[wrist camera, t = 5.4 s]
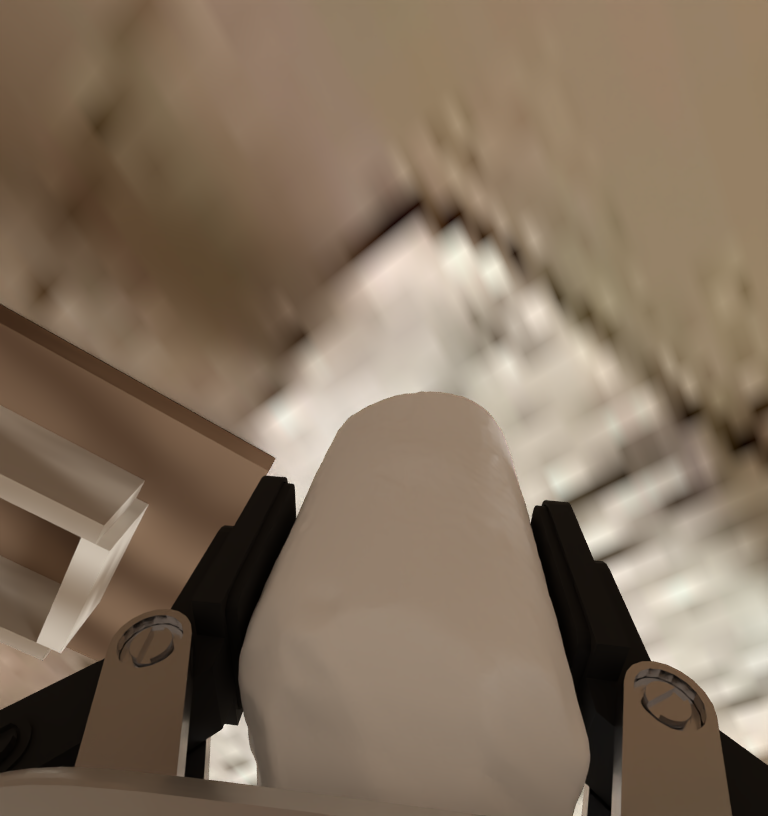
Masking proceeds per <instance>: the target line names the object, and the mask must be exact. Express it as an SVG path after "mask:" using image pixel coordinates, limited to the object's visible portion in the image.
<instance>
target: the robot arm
mask: <svg viewBox="0 0 768 816" xmlns="http://www.w3.org/2000/svg"><path fill="white" fill-rule="evenodd" d="M295 520H296V504H295V486H294V484H289V483H288V481H287V478H286V477H276V476H263V477H262V478H261V480H260V481H259V483H258V485H257V487H256V488H255V490H254V492H253V494H252V495H251V497H250V499H249V501H248V502H247V504H246V506H245V507H244V509H243V511H242V513H241V514H240V516H239V518H238V520H237V521H236V523H235V525H234V526H228V525H224V526H222V527H221V528H220V530H219V531H218V532H217V534H216V536H215V537H214V539H213V540H212V542H211V544H210V545H209V547H208V549H207V550H206V552H205V553H204V555H203V557H202V558H201V560H200V562H199V563H198V565H197V567H196V568H195V570H194V571H193V573H192V575H191V576H190V578H189V580H188V581H187V583H186V585H185V586H184V588H183V589H182V591H181V593H180V594H179V596H178V598H177V599H176V601H175V602H174V604H173V606H172V607H171V609H156V610H153V611H149V612H145V613H143V614H141V615H139V616H137V617H135V618H133V619H131V620H130V621H128V622H127V623H126V624H124V625H123V626H122V627H121V628H120V629H119V630H118V631H117V632H116V634H115V635H114V636H113V637H112V640H111V642H110V644H109V646H108V649H107V652H106V656H105V658H104V659H102V660H100V661H98V662H96V663H94V664H92V665H90V666H88V667H86V668H84V669H82V670H80V671H78V672H76V673H74V674H72V675H70V676H68V677H66V678H64V679H62V680H60V681H58V682H56V683H54V684H52V685H50V686H48V687H46V688H44V689H42V690H40V691H38V692H36V693H34V694H32V695H30V696H28V697H26V698H24V699H22V700H20V701H18V702H16V703H14V704H12V705H10V706H8V707H6V708H4V709H2V710H0V816H485V815H477V814H470V813H462V812H455V811H447V810H440V809H432V808H424V807H417V806H409V805H402V804H394V803H386V802H379V801H371V800H363V799H356V798H348V797H340V796H333V795H325V794H317V793H309V792H301V791H293V790H285V789H277V788H269V787H261V786H254V785H246V784H238V783H230V782H222V781H214V780H208V779H209V761H210V742H211V736H212V735H214V734H215V733H217V732H218V731H220V730H221V729H222V728H223V726H224V724H230V725H238V724H239V721H240V718H241V715H242V712H243V707H242V702H241V694H240V687H239V681H238V675H239V657H240V652H241V649H242V646H243V643H244V639H245V635H246V632H247V628H248V625H249V622H250V619H251V616H252V614H253V612H254V610H255V607H256V605H257V603H258V601H259V599H260V596H261V594H262V591H263V588H264V586H265V583H266V581H267V579H268V577H269V575H270V573H271V571H272V569H273V566H274V564H275V562H276V560H277V558H278V556H279V554H280V552H281V550H282V548H283V546H284V544H285V542H286V540H287V538H288V536H289V534H290V531H291V529H292V527H293V525H294V523H295ZM530 525H531V528H532V532H533V536H534V540H535V542H536V545H537V551H538V555H539V558H540V561H541V565H542V569H543V572H544V575H545V579H546V584H547V588H548V593H549V597H550V599H551V601H552V605H553V608H554V611H555V615H556V618H557V621H558V626H559V630H560V633H561V637H562V641H563V646H564V650H565V654H566V658H567V661H568V665H569V669H570V672H571V675H572V679H573V683H574V688H575V693H576V697H577V701H578V704H579V708H580V711H581V715H582V718H583V722H584V725H585V729H586V733H587V737H588V741H589V749H590V764H589V769H588V773H587V776H586V780H585V784H584V794H583V805H582V816H768V765H767V764H765V763H764V762H762V761H761V760H760V759H758V758H757V757H756V756H754V755H753V754H751V753H750V752H749V751H747V750H746V749H745V748H743V747H742V746H740V745H739V744H738V743H736V742H735V741H734V740H732V739H731V738H729V737H728V736H727V735H725V734H724V733H723V732H721V731H720V730H719V726H718V720H717V715H716V712H715V709H714V706H713V704H712V702H711V701H710V699H709V698H708V696H707V695H706V693H705V692H704V691H703V690H702V689H701V688H700V687H699V686H698V685H697V684H696V683H695V682H694V681H693V680H692V679H691V678H689V677H688V676H686V675H685V674H684V673H682V672H681V671H679V670H677V669H675V668H673V667H671V666H668V665H666V664H662V663H658V662H654V661H651V660H650V658H649V656H648V654H647V651H646V649H645V647H644V645H643V643H642V640H641V638H640V636H639V634H638V631H637V629H636V627H635V625H634V623H633V620H632V618H631V616H630V614H629V611H628V609H627V607H626V605H625V603H624V600H623V598H622V596H621V594H620V591H619V589H618V587H617V585H616V583H615V580H614V578H613V576H612V574H611V571H610V569H609V568H608V566H607V564H606V563H604V562H603V561H594V559H593V557H592V555H591V552H590V550H589V547H588V545H587V543H586V540H585V538H584V536H583V533H582V531H581V528H580V526H579V524H578V521H577V519H576V516H575V514H574V512H573V509H572V507H571V505H570V503H568V502H559V501H548V500H545V501H544V502H543V503H542V506H535V507H534V510H533V514H532V519H531V524H530Z"/></svg>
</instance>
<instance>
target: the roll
mask: <svg viewBox="0 0 768 816" xmlns="http://www.w3.org/2000/svg"><path fill="white" fill-rule="evenodd" d="M238 681H239V687H240V694H241V702H242V707H243V712H244V717H245V720H246V723H247V726H248V735H249V743H250V748H251V751H252V753H253V755H254V758H255V760H256V763H257V786H261V787H269V788H277V789H285V790H293V791H301V792H309V793H317V794H325V795H333V796H340V797H348V798H356V799H363V800H371V801H379V802H386V803H394V804H402V805H409V806H417V807H424V808H432V809H440V810H447V811H455V812H462V813H470V814H477V815H485V816H573V813H574V809H575V806H576V803H577V801H578V798H579V796H580V794H581V792H582V790H583V787H584V784H585V780H586V776H587V773H588V769H589V764H590V749H589V741H588V737H587V733H586V729H585V725H584V722H583V718H582V715H581V711H580V708H579V704H578V701H577V697H576V693H575V688H574V683H573V679H572V675H571V672H570V669H569V665H568V661H567V658H566V654H565V650H564V646H563V641H562V637H561V633H560V630H559V626H558V621H557V618H556V615H555V611H554V608H553V605H552V601H551V599H550V597H549V593H548V588H547V584H546V579H545V575H544V572H543V569H542V565H541V561H540V558H539V555H538V551H537V545H536V542H535V540H534V536H533V532H532V528H531V525H530V519H529V515H528V512H527V508H526V504H525V501H524V498H523V496H522V492H521V490H520V487H519V482H518V478H517V474H516V471H515V467H514V463H513V460H512V457H511V453H510V450H509V447H508V445H507V442H506V439H505V437H504V434H503V432H502V430H501V428H500V427H499V426H498V424H497V422H496V421H495V420H494V418H493V417H492V416H491V415H490V413H489V412H487V411H486V410H485V409H484V408H483V407H481V406H480V405H478V404H477V403H475V402H473V401H471V400H469V399H467V398H465V397H462V396H457V395H453V394H448V393H442V392H418V393H413V394H402V395H397V396H393V397H390V398H387V399H384V400H381V401H379V402H377V403H374V404H372V405H370V406H368V407H366V408H364V409H362V410H361V411H359V412H357V413H355V414H354V415H352V416H351V417H349V418H348V420H347V421H346V422H345V423H344V424H343V425H342V427H341V428H340V429H339V430H338V432H337V434H336V436H335V438H334V440H333V442H332V444H331V446H330V448H329V449H328V451H327V453H326V455H325V458H324V460H323V462H322V463H321V465H320V468H319V469H318V471H317V473H316V475H315V477H314V479H313V482H312V484H311V486H310V488H309V491H308V493H307V495H306V497H305V499H304V502H303V504H302V507H301V509H300V511H299V514H298V516H297V518H296V520H295V523H294V525H293V527H292V529H291V531H290V534H289V536H288V538H287V540H286V542H285V544H284V546H283V548H282V550H281V552H280V554H279V556H278V558H277V560H276V562H275V564H274V566H273V569H272V571H271V573H270V575H269V577H268V579H267V581H266V583H265V586H264V588H263V591H262V594H261V596H260V599H259V601H258V603H257V605H256V607H255V610H254V612H253V614H252V616H251V619H250V622H249V625H248V628H247V632H246V635H245V639H244V643H243V646H242V649H241V652H240V657H239V675H238Z"/></svg>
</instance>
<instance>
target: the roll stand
mask: <svg viewBox="0 0 768 816" xmlns="http://www.w3.org/2000/svg"><path fill="white" fill-rule="evenodd" d="M274 460H275V458H273V457H272V456H270V455H268V454H266V453H265V452H263V451H261V450H259V449H257V448H256V447H254V446H252V445H250V444H248V443H247V442H245V441H243V440H241V439H240V438H238V437H236V436H234V435H232V434H231V433H229V432H227V431H225V430H223V429H222V428H220V427H218V426H216V425H215V424H213V423H211V422H209V421H207V420H206V419H204V418H202V417H200V416H198V415H197V414H195V413H193V412H191V411H190V410H188V409H186V408H184V407H182V406H181V405H179V404H177V403H175V402H173V401H172V400H170V399H168V398H166V397H165V396H163V395H161V394H159V393H157V392H156V391H154V390H152V389H150V388H148V387H147V386H145V385H143V384H141V383H140V382H138V381H136V380H134V379H132V378H131V377H129V376H127V375H125V374H123V373H122V372H120V371H118V370H116V369H115V368H113V367H111V366H109V365H107V364H106V363H104V362H102V361H100V360H98V359H97V358H95V357H93V356H91V355H90V354H88V353H86V352H84V351H82V350H81V349H79V348H77V347H75V346H73V345H72V344H70V343H68V342H66V341H65V340H63V339H61V338H59V337H57V336H56V335H54V334H52V333H50V332H48V331H47V330H45V329H43V328H41V327H39V326H38V325H36V324H34V323H32V322H31V321H29V320H27V319H25V318H23V317H22V316H20V315H18V314H16V313H14V312H13V311H11V310H9V309H7V308H6V307H4V306H2V305H0V642H1V643H3V644H5V645H8V646H10V647H12V648H14V649H17V650H19V651H21V652H24V653H26V654H28V655H30V656H33V657H35V658H37V659H40V660H42V661H43V660H44V659H45V657H46V656H47V655H48V653H49V652H50V651H51V650H54V651H57V652H59V653H61V652H62V651H63V650H64V648H65V647H67V648H69V649H72V650H74V651H76V652H78V653H81V654H83V655H85V656H87V657H89V658H92V659H94V660H96V661H100V660H102V659H104V658H105V656H106V652H107V649H108V646H109V644H110V642H111V640H112V637H113V636H114V635H115V634H116V632H117V631H118V630H119V629H120V628H121V627H122V626H123V625H124V624H126V623H127V622H128V621H130V620H131V619H133V618H135V617H137V616H139V615H141V614H143V613H145V612H149V611H153V610H156V609H171V607H172V606H173V604H174V602H175V601H176V599H177V598H178V596H179V594H180V593H181V591H182V589H183V588H184V586H185V585H186V583H187V581H188V580H189V578H190V576H191V575H192V573H193V571H194V570H195V568H196V567H197V565H198V563H199V562H200V560H201V558H202V557H203V555H204V553H205V552H206V550H207V549H208V547H209V545H210V544H211V542H212V540H213V539H214V537H215V536H216V534H217V532H218V531H219V530H220V528H221V527H222V526H224V525H228V526H234V525H235V523H236V521H237V520H238V518H239V516H240V514H241V513H242V511H243V509H244V507H245V506H246V504H247V502H248V501H249V499H250V497H251V495H252V494H253V492H254V490H255V488H256V487H257V485H258V483H259V481H260V480H261V478H262V477H263V476H266V475H267V473H268V471H269V470H270V468H271V466H272V464H273V462H274Z"/></svg>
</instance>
